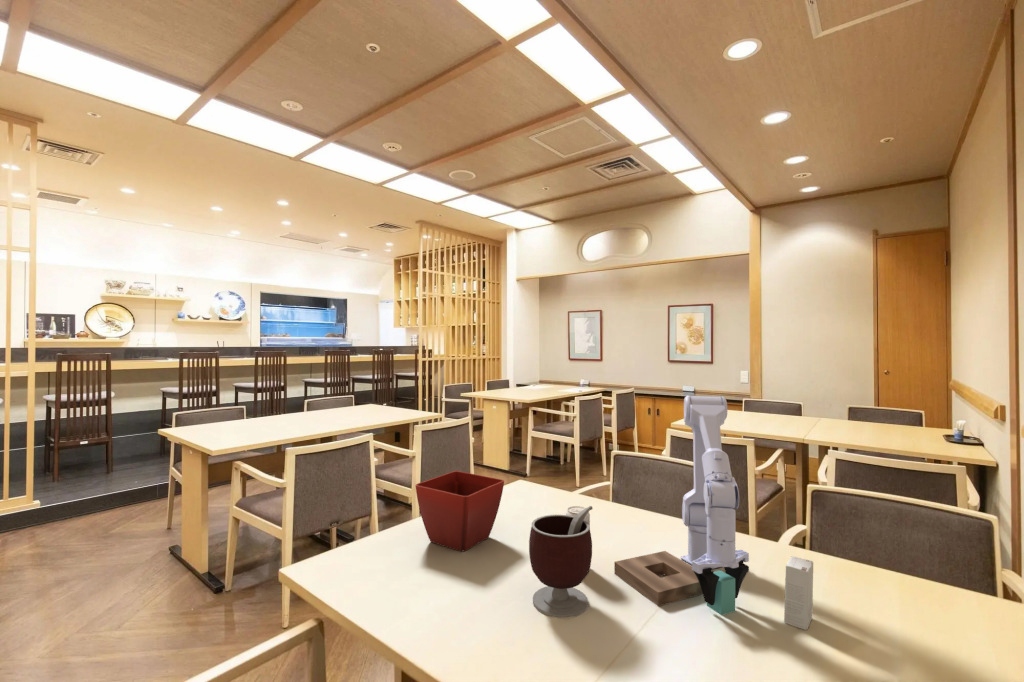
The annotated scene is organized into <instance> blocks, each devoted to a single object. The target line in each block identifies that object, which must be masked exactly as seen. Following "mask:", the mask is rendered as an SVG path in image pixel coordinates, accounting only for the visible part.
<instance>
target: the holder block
mask: <svg viewBox="0 0 1024 682" xmlns="http://www.w3.org/2000/svg"><path fill="white" fill-rule="evenodd" d="M613 569H614V571H613V572H614V575H616V576H617V577H618V578H619V579H621V580H622V581H623V582H625V584H627V585H629V586H630V587H631V588H633V589H634V590H636V591H637V592H638V593H640V594H641V595H642V596H644V597H645V598H646V599H648V600H649V601H650V602H652V603H653V604H655V605H656V607H660V606H664V605H668V604H671V603H675V602H679V601H682V600H686V599H689V598H692V597H693V598H694V597H696V596H697V597H698V596H699V595H700V596H701V595H703V593H702V589H701V586H700V583H699V581H698V578H697V576H696V575H695V573H694V571H693V570H692V565H691V564H689V563H688V562H686V561H684V560H682V559H681V558H679V557H677V556H675V555H673V554H671V553H670V552H668V551H666V550H663V551H659V552H658V551H657V552H654V553H650V554H645V555H640V556H633V557H631V558H626V559H621V560H617V561H614V568H613ZM660 576H663V577H660Z"/></svg>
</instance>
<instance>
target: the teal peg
mask: <svg viewBox="0 0 1024 682" xmlns="http://www.w3.org/2000/svg"><path fill="white" fill-rule="evenodd" d="M713 573H714V574H715V575H717V576H719V577H720V578H719V580H718V582H717V586H716V591H715V602H714V605H710V604H708V603H707V602H706V606H707V608H709V609H711V610H712V611H714V612H716V613H717V614H719V615H720V616H725V615H727V614H730V613H733V612H734V613H735V612H736V598H735V578H734V577H732V576H730V575H728V574H726V573H725V571H722V570H715V571H713Z"/></svg>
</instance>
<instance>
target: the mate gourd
mask: <svg viewBox="0 0 1024 682" xmlns="http://www.w3.org/2000/svg"><path fill="white" fill-rule="evenodd" d="M585 508H586V509H584V510H582V511H581V512H579V513H578V514H577V515H576V516H575V517H574V516H569V515H566V514H548V515H543V516H539V517H537V518H535V519H534V520H533V521H532V522H531V527H530V532H529V540H528V553H529V560H530V562H529V563H530V566H531V570H532V572H533V573H534V575H535V576H536V577H537V579H538V580H539V581H540V583H542V585H545V586H544V587H541V588H540V589H537V590H536V591H535V592H534V593H533V596H532V605H533V607H534V608H535V609H536V610H537V611H538V612H540V613H541V614H543V615H546V616H548V617H552V618H557V619H569V618H575V617H577V616H580V615H582V614H583V613H585V612H586V611H587V610H588V608H589V598H588V597H587V595H586V594H585V593H584V592H582V591H581V590H580V589H578V588H576V587H578V586H579V585H581V583H583V581H584V580H585V579H586V577H587V576H588V575H589V572H590V569H591V565H592V564H591V563H592V557H593V541H592V533H591V528H590V527H591V526H589V524H588V523H587V522H586V521H585V520H584V518H585V516H586V515H587V513H588V512H589V513H590V511H592V510H593V506H592V505H589V506H588V507H585ZM589 528H590V529H589Z"/></svg>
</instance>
